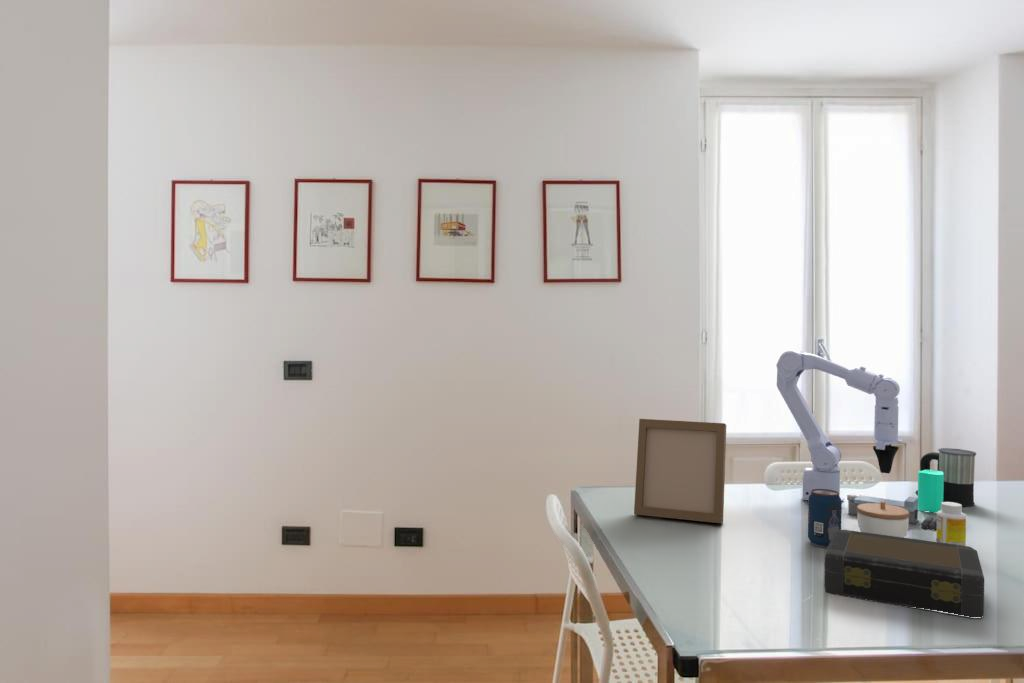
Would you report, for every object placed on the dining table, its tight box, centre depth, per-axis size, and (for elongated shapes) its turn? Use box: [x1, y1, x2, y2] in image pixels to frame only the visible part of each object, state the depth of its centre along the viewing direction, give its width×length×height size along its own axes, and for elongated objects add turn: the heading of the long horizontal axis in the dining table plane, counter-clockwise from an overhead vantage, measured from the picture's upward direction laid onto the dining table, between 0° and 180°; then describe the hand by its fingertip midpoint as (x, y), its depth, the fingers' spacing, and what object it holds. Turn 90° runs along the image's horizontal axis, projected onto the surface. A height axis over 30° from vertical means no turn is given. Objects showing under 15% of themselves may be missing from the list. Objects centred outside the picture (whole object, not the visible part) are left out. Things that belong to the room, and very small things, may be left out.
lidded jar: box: [856, 501, 910, 538], centre depth 163 cm, size 11×11×9 cm
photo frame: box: [633, 418, 727, 524], centre depth 185 cm, size 15×22×25 cm
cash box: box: [823, 528, 985, 618], centre depth 134 cm, size 25×20×8 cm
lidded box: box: [846, 494, 918, 512], centre depth 185 cm, size 16×6×2 cm, turn 50°
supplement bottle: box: [935, 502, 967, 546], centre depth 158 cm, size 6×6×10 cm
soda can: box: [807, 489, 843, 549], centre depth 161 cm, size 7×7×12 cm
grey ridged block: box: [920, 515, 937, 530], centre depth 177 cm, size 5×9×2 cm, turn 141°
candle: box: [917, 469, 944, 513], centre depth 192 cm, size 6×6×12 cm
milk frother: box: [915, 447, 977, 507], centre depth 199 cm, size 14×16×15 cm
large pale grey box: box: [847, 500, 919, 526], centre depth 185 cm, size 16×6×3 cm, turn 51°
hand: (885, 472), depth 193 cm, fingers closed
